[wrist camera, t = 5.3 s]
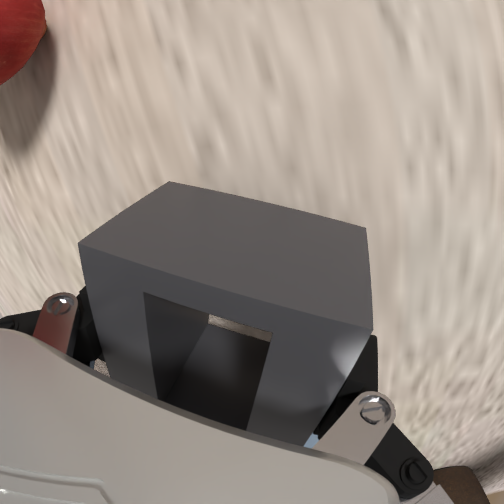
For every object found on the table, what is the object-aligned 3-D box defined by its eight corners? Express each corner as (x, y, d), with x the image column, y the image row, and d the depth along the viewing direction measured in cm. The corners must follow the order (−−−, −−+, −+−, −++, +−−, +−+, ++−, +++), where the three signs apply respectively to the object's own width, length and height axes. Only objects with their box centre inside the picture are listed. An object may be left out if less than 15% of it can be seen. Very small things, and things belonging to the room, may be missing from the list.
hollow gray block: (366, 228, 10) (373, 336, 6) (313, 365, 14) (292, 464, 10) (169, 181, 11) (73, 246, 7) (170, 322, 15) (115, 401, 11)
